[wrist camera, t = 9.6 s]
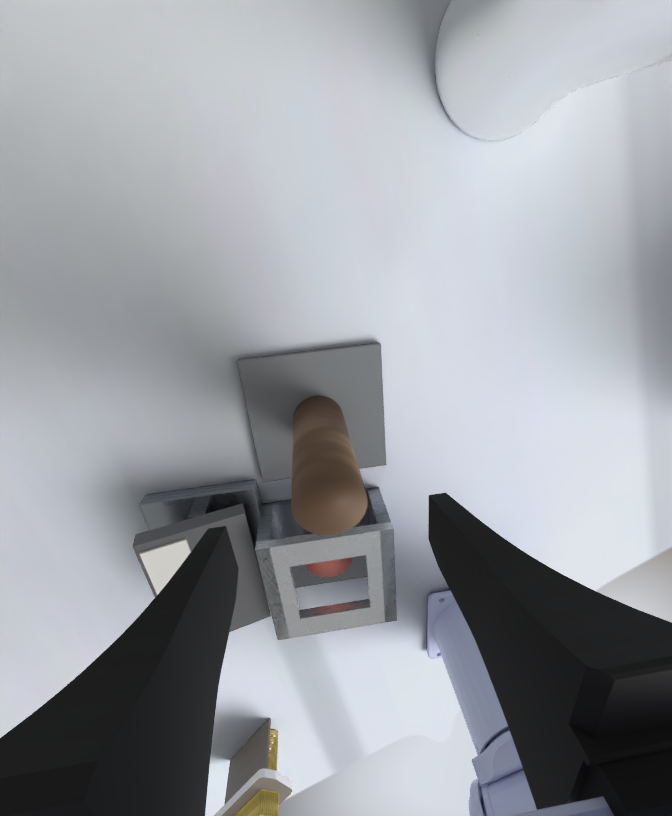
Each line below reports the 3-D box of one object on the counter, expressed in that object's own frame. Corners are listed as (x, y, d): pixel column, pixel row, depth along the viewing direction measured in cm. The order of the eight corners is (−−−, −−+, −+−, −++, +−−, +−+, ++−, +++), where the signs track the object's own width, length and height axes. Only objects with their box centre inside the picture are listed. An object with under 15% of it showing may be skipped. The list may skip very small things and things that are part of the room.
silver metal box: (377, 462, 23) (392, 501, 20) (383, 571, 27) (396, 620, 24) (145, 494, 22) (116, 541, 19) (187, 602, 27) (170, 657, 23)
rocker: (242, 503, 22) (245, 514, 21) (268, 603, 25) (271, 617, 24) (135, 534, 20) (132, 548, 19) (179, 637, 24) (178, 653, 23)
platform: (357, 699, 35) (370, 792, 29) (266, 788, 40) (261, 883, 34) (247, 669, 31) (235, 768, 25) (162, 770, 36) (136, 873, 30)
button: (347, 521, 25) (350, 538, 23) (350, 555, 26) (353, 573, 25) (301, 528, 25) (302, 545, 23) (307, 562, 26) (308, 580, 24)
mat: (379, 342, 20) (380, 344, 20) (384, 461, 23) (386, 464, 23) (237, 359, 20) (236, 361, 19) (263, 478, 23) (262, 482, 23)
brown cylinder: (342, 393, 21) (367, 469, 13) (343, 438, 22) (367, 531, 15) (290, 397, 20) (287, 477, 13) (295, 443, 22) (294, 539, 14)
